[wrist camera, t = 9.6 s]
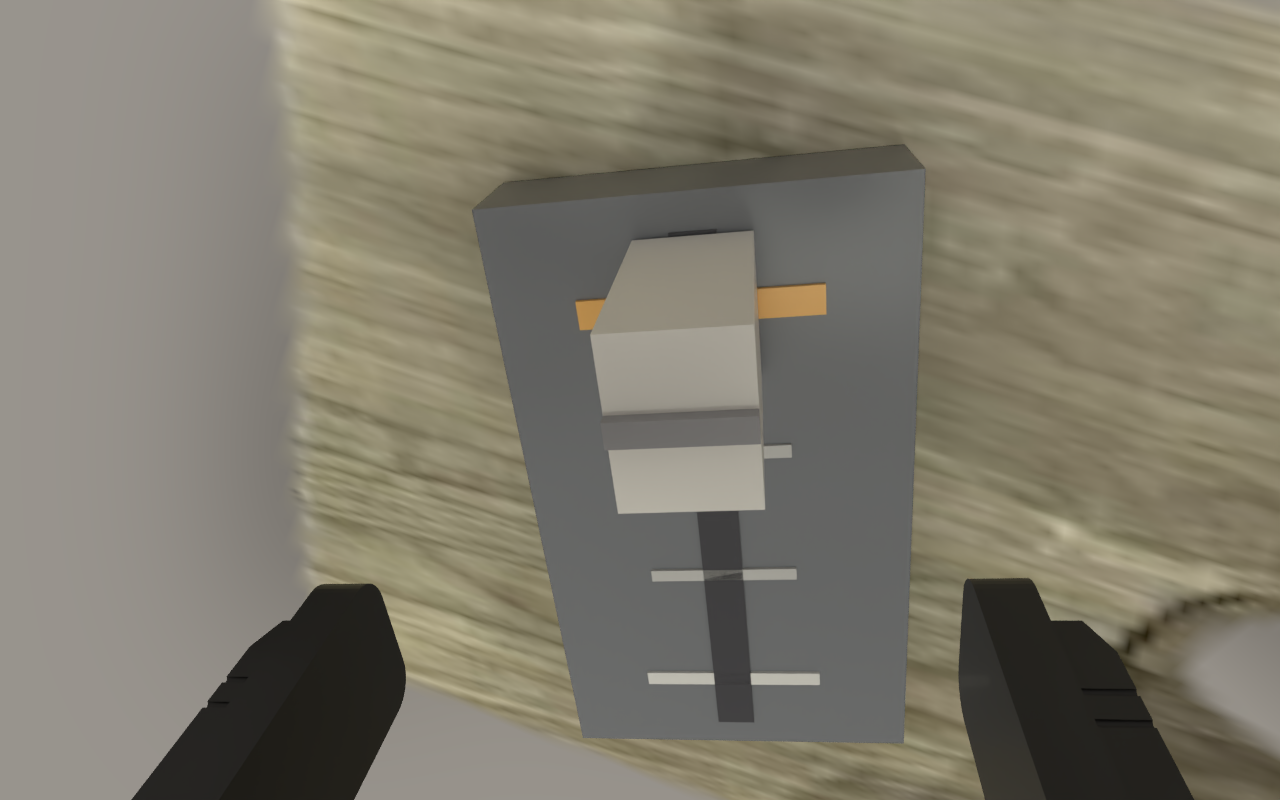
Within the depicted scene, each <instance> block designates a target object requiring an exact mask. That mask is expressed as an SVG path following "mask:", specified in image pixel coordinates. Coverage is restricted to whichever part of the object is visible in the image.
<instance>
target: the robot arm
mask: <svg viewBox="0 0 1280 800" xmlns="http://www.w3.org/2000/svg"><path fill="white" fill-rule="evenodd" d="M405 684H406V672H405V665H404V661H403V658H402V655H401V652H400V649H399V646H398V643H397V640H396V637H395V634H394V631H393V628H392V625H391V622H390V619H389V616H388V613H387V610H386V607H385V604H384V601H383V598H382V595H381V593H380V591H379V589H378V588H377V587H376V586H375V585H373V584H322V585H319V586H317V587H316V588H315V589H314V590H313V591H312V592H311V593H310V595H309V596H308V597H307V599H306V600H305V601H304V603H303V604H302V606H301V607H300V608H299V610H298V611H297V612H296V614H295V615H294V616H293V618H292V619H291V620H290V621H282V622H281V623H280V624H278V625H277V626H276V627H274V628H273V629H272V630H271V631H269V632H268V633H267V634H265V635H264V636H263V637H262V638H260V639H259V640H258V641H256V642H255V643H254V644H253V645H251V646H250V647H249V649H248V650H247V651H246V652H245V654H244V655H243V656H242V658H241V659H240V660H239V661H238V663H237V664H236V665H235V667H234V668H233V669H232V670H231V672H230V673H229V674H228V676H227V681H226V683H221V685H220V686H219V687H218V689H217V690H216V691H215V692H214V694H213V695H212V696H211V698H210V699H209V700H208V706H207V708H202V709H201V711H200V712H199V713H198V714H197V716H196V717H195V718H194V720H193V721H192V722H191V723H190V725H189V726H188V727H187V729H186V730H185V731H184V733H183V734H182V735H181V736H180V738H179V739H178V741H177V742H176V743H175V744H174V745H173V747H172V748H171V749H170V751H169V752H168V753H167V755H166V756H165V757H164V758H163V760H162V761H161V762H160V764H159V765H158V766H157V768H156V769H155V770H154V771H153V773H152V774H151V775H150V777H149V778H148V779H147V780H146V782H145V783H144V784H143V786H142V787H141V788H140V789H139V791H138V792H137V793H136V795H135V796H134V797H133V799H132V800H354V799H355V797H356V795H357V793H358V791H359V789H360V787H361V785H362V782H363V781H364V779H365V777H366V775H367V773H368V771H369V769H370V767H371V765H372V763H373V761H374V759H375V757H376V755H377V753H378V751H379V749H380V747H381V745H382V743H383V741H384V739H385V737H386V735H387V733H388V731H389V729H390V727H391V725H392V723H393V721H394V719H395V717H396V715H397V713H398V711H399V709H400V707H401V704H402V701H403V697H404V692H405ZM959 691H960V700H961V707H962V712H963V717H964V722H965V725H966V729H967V733H968V737H969V740H970V744H971V748H972V752H973V755H974V759H975V763H976V767H977V770H978V774H979V778H980V782H981V785H982V789H983V793H984V797H985V800H1194V799H1193V797H1192V795H1191V793H1190V791H1189V789H1188V787H1187V785H1186V783H1185V781H1184V779H1183V777H1182V776H1181V774H1180V772H1179V770H1178V768H1177V766H1176V764H1175V762H1174V760H1173V758H1172V756H1171V754H1170V753H1169V751H1168V749H1167V747H1166V745H1165V743H1164V741H1163V739H1162V737H1161V735H1160V733H1159V731H1158V730H1157V728H1154V727H1153V723H1152V721H1153V720H1152V718H1151V716H1150V714H1149V712H1148V710H1147V708H1146V706H1145V705H1144V703H1143V701H1142V699H1141V697H1140V696H1137V693H1136V687H1135V685H1134V683H1133V682H1132V680H1131V678H1130V676H1129V674H1128V672H1127V670H1126V668H1125V666H1124V664H1123V662H1122V660H1121V659H1120V657H1119V655H1118V653H1117V651H1115V650H1114V649H1113V648H1112V647H1111V646H1110V645H1109V644H1108V643H1106V642H1105V641H1104V640H1103V639H1102V638H1101V637H1100V636H1099V635H1097V634H1096V633H1095V632H1094V631H1093V630H1092V629H1091V628H1090V627H1089V626H1087V625H1086V624H1085V623H1084V622H1083V621H1051V620H1050V618H1049V616H1048V613H1047V611H1046V609H1045V606H1044V604H1043V602H1042V600H1041V597H1040V595H1039V593H1038V591H1037V588H1036V586H1035V584H1034V583H1033V581H1032V580H1031V579H1029V578H1005V579H967V580H966V581H965V584H964V591H963V605H962V621H961V638H960V654H959Z"/></svg>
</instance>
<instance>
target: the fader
mask: <svg viewBox="0 0 1280 800" xmlns="http://www.w3.org/2000/svg"><path fill="white" fill-rule="evenodd" d="M590 337H591V344H592V350H593V357H594V363H595V369H596V376H597V382H598V389H599V395H600V401H601V408H602V414H603V417H602V420H601V423H600V425H601V431H602V438H603V444H604V450H608V452H609V459H610V465H611V472H612V478H613V484H614V491H615V497H616V504H617V510H618V514H630V513H666V512H703V511H739V510H765V481H764V440H763V400H762V370H761V352H760V335H759V317H758V299H757V281H756V263H755V246H754V230H753V231H741V232H729V233H717V234H704V235H692V236H680V237H668V238H655V239H643V240H632V241H631V244H630V246H629V248H628V250H627V253H626V255H625V257H624V259H623V262H622V264H621V266H620V268H619V271H618V273H617V275H616V277H615V280H614V282H613V284H612V287H611V289H610V291H609V293H608V296H607V298H606V300H605V302H604V305H603V307H602V309H601V311H600V314H599V316H598V318H597V320H596V323H595V325H594V327H593V329H592V332H591V334H590Z"/></svg>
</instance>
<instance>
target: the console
mask: <svg viewBox="0 0 1280 800" xmlns="http://www.w3.org/2000/svg"><path fill="white" fill-rule="evenodd" d="M925 171H926V169H925V168H924V166H923V165H922V164H921V163H920V162H919V161H918V160H917V158H916V157H915V156H914V155H913V154H912V153H911V151H910V150H909V149H908V148H907V147H906V146H905V145H894V146H883V147H873V148H862V149H852V150H841V151H831V152H820V153H810V154H799V155H789V156H778V157H768V158H757V159H747V160H736V161H726V162H715V163H705V164H694V165H684V166H673V167H663V168H652V169H642V170H631V171H621V172H610V173H600V174H589V175H579V176H568V177H558V178H547V179H537V180H527V181H516V182H506V183H503V184H501V185H500V186H499V187H498V188H497V189H496V190H494V191H493V192H492V193H491V194H490V195H489V196H487V197H486V198H485V199H484V200H483V201H482V202H480V203H479V204H478V205H477V206H476V207H475V208H473V209H472V213H473V217H474V222H475V227H476V232H477V236H478V241H479V246H480V251H481V255H482V260H483V265H484V270H485V274H486V279H487V284H488V289H489V293H490V298H491V303H492V308H493V312H494V317H495V322H496V327H497V331H498V336H499V341H500V346H501V350H502V355H503V360H504V365H505V369H506V374H507V379H508V384H509V388H510V393H511V398H512V402H513V407H514V412H515V417H516V421H517V426H518V431H519V436H520V440H521V445H522V450H523V455H524V459H525V464H526V469H527V474H528V478H529V483H530V488H531V493H532V497H533V502H534V507H535V512H536V516H537V521H538V526H539V531H540V535H541V540H542V545H543V550H544V554H545V559H546V564H547V569H548V573H549V578H550V583H551V588H552V592H553V597H554V602H555V606H556V611H557V616H558V621H559V625H560V630H561V635H562V640H563V644H564V649H565V654H566V659H567V663H568V668H569V673H570V678H571V682H572V687H573V692H574V697H575V701H576V706H577V711H578V716H579V720H580V725H581V730H582V735H583V738H620V739H679V740H737V741H796V742H855V743H904V717H905V691H906V665H907V639H908V613H909V587H910V561H911V535H912V509H913V483H914V457H915V431H916V405H917V379H918V353H919V327H920V301H921V275H922V249H923V223H924V197H925ZM753 230H754V246H755V263H756V281H757V299H758V317H759V335H760V352H761V370H762V400H763V440H764V481H765V510H739V511H703V512H666V513H630V514H618V510H617V504H616V497H615V491H614V484H613V478H612V472H611V465H610V459H609V452H608V450H604V444H603V438H602V431H601V425H600V423H601V420H602V417H603V414H602V408H601V401H600V395H599V389H598V382H597V376H596V369H595V363H594V357H593V350H592V344H591V337H590V334H591V332H592V329H593V327H594V325H595V323H596V320H597V318H598V316H599V314H600V311H601V309H602V307H603V305H604V302H605V300H606V298H607V296H608V293H609V291H610V289H611V287H612V284H613V282H614V280H615V277H616V275H617V273H618V271H619V268H620V266H621V264H622V262H623V259H624V257H625V255H626V253H627V250H628V248H629V246H630V244H631V241H632V240H643V239H655V238H668V237H680V236H692V235H704V234H717V233H729V232H741V231H753Z"/></svg>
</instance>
